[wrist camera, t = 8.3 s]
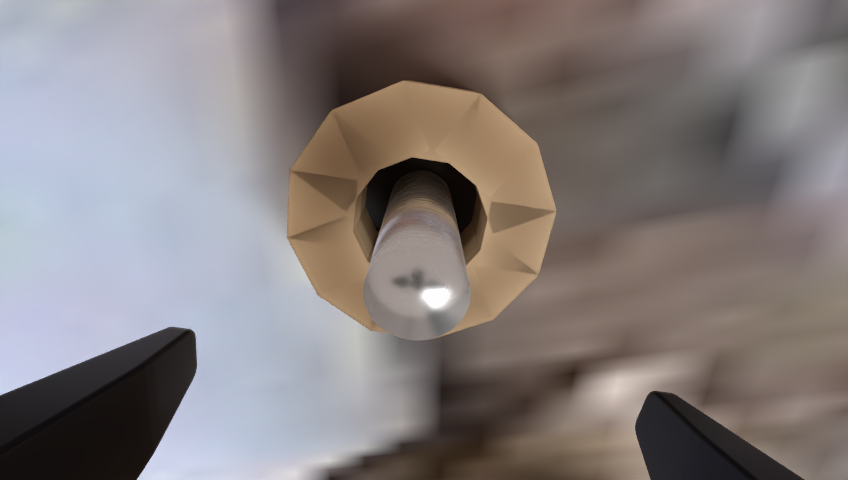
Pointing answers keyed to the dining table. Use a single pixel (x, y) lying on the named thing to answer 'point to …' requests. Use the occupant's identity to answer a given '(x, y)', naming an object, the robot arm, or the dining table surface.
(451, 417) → the dining table surface
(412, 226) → the steel rod
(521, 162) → the wooden bead
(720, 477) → the robot arm
